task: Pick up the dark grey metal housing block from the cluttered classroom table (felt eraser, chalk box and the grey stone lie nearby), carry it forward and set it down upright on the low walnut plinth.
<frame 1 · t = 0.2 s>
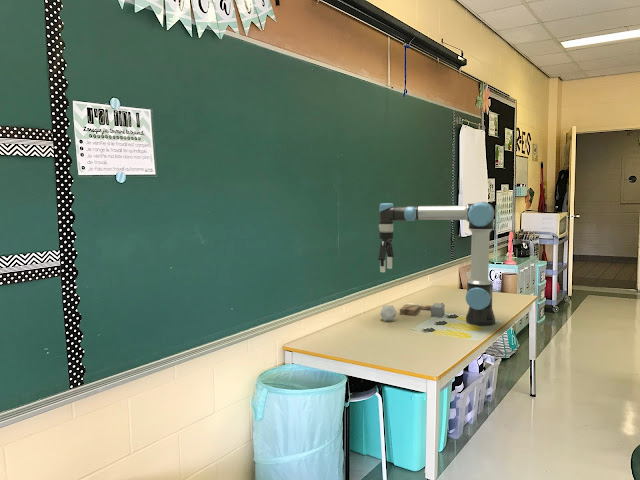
hand: (386, 270, 274), 28 cm above the table, fingers open, 13 cm apart
housing: (437, 315, 287), on the table
felt eraser: (430, 310, 299), on the table
plinth: (410, 312, 293), on the table
die: (388, 320, 276), on the table
chalk box: (411, 309, 302), on the table
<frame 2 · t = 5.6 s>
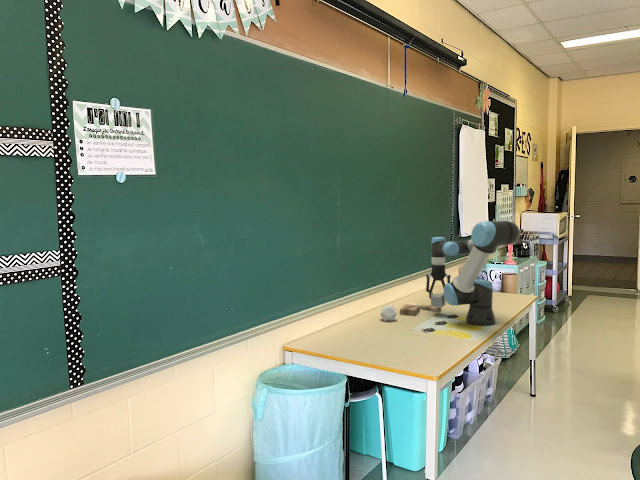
hand: (438, 304, 285), 6 cm above the table, fingers closed on housing, 6 cm apart
housing: (438, 305, 286), point 6 cm above the table, touching gripper
when the fingers open (4 cm above the table, at t = 9.6 s): housing stays where it is, resting on plinth.
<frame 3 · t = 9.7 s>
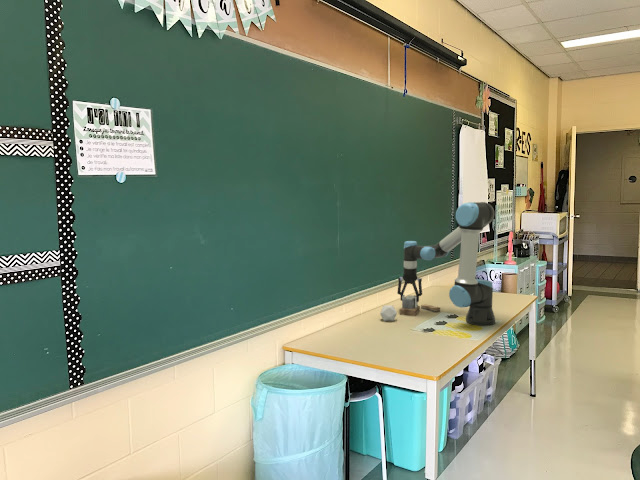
hand: (409, 306, 293), 4 cm above the table, fingers open, 7 cm apart
housing: (410, 307, 293), point 3 cm above the table, touching gripper, plinth
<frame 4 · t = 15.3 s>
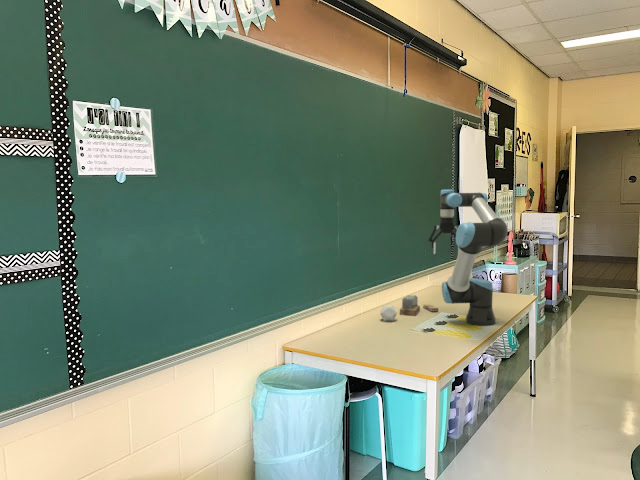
hand: (446, 254, 286), 35 cm above the table, fingers open, 13 cm apart
housing: (410, 307, 293), point 3 cm above the table, touching plinth
at the end: housing inside the target area on the plinth (0.2 cm from its centre), point 3.2 cm above the plinth's base; housing tilted 0°; the gripper is holding nothing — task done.
